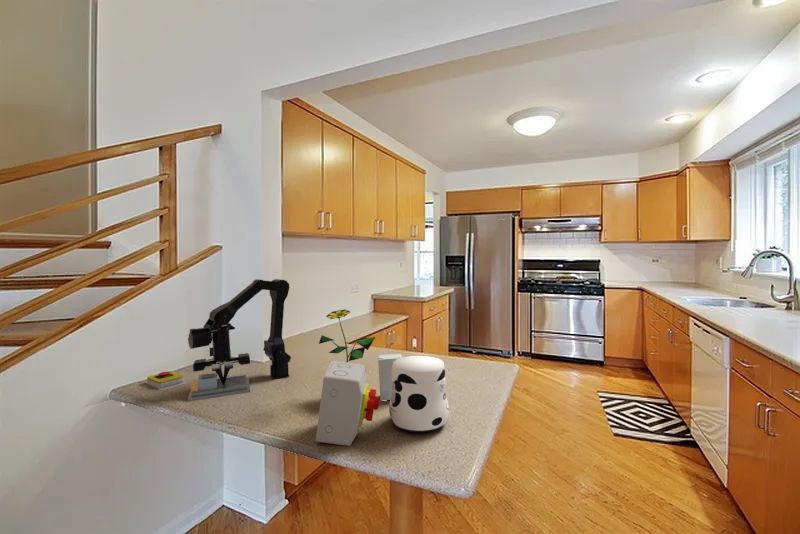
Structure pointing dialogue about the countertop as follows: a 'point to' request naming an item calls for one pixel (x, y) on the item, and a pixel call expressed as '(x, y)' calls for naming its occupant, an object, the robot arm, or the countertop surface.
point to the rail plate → (221, 388)
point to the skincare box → (386, 374)
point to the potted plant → (354, 353)
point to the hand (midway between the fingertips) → (223, 384)
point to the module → (207, 382)
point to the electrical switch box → (344, 403)
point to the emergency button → (165, 380)
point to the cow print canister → (418, 394)
